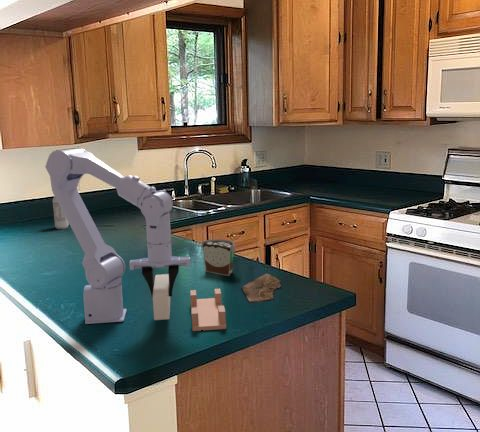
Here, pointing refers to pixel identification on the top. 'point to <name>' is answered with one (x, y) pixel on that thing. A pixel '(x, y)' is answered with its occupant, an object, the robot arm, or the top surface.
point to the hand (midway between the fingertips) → (162, 295)
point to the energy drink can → (59, 216)
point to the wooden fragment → (261, 288)
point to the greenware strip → (161, 297)
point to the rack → (207, 312)
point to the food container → (218, 256)
